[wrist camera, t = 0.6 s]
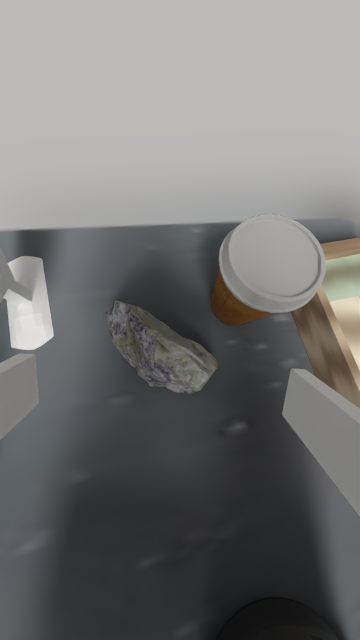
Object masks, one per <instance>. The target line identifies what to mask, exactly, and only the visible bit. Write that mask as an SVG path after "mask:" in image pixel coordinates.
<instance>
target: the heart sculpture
mask: <svg viewBox="0 0 360 640" xmlns="http://www.w3.org/2000/svg"><path fill="white" fill-rule="evenodd" d="M3 298H4V299H6V300H7V308H8V318H9V329H10V339H11V347H13V348H17V349H23V350H34V349H36V348H38V347H40V346H42V345H43V344H44V343H46V342H47V341H48V340H50V339H51V338H52V337H53V336H54V334H53V327H52V321H51V314H50V308H49V301H48V294H47V288H46V281H45V275H44V268H43V262H42V258H38V257H32V256H21V257H19V258H16V259H14V260H13V261H11V262H9V263H8V264H7V261H6V259H5V257H4V255H3V253H2V250H1V248H0V302H1V301H2V299H3Z"/></svg>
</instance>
